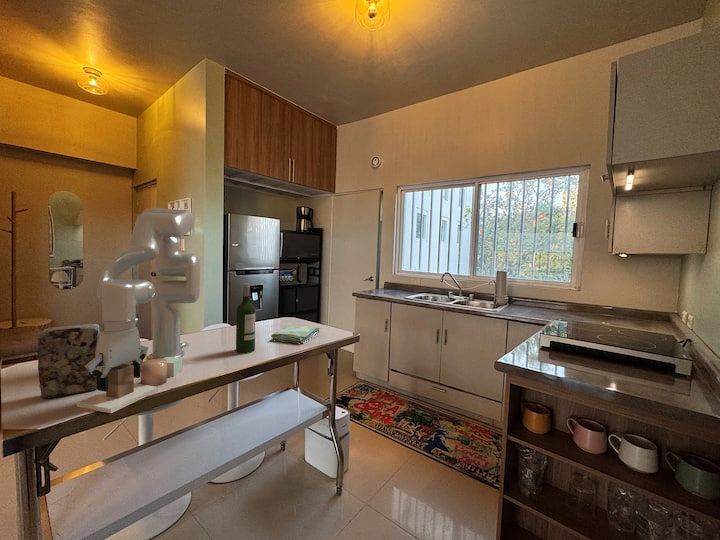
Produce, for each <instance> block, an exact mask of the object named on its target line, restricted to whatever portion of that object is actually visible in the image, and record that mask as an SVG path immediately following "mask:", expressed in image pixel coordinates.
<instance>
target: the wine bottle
mask: <svg viewBox="0 0 720 540" xmlns="http://www.w3.org/2000/svg"><path fill="white" fill-rule="evenodd" d="M250 286H251V285H250V283H243V285H242V287H243V288H242V301H241V303H240V304H239V305H237V307H236V309H235V310H236V316H235V317H236V320H235V321H236V322H235V324H236V325H235V327H236V328H235V330H236V331H235V352H236V353H238V354H242V353H245V354H250V353H253V352H255V350H256V307H255V305H254V304H253V302H252V303H251V298H250V297H251V296H250V293H251V291H250V288H251V287H250Z"/></svg>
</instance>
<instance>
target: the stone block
mask: <svg viewBox="0 0 720 540" xmlns="http://www.w3.org/2000/svg"><path fill="white" fill-rule="evenodd" d="M100 328H101V327H100V325H99V324H98V323H88V324H76V325H67V326H66V325H64V326H56V327H54V326H53V327H49V328H46V329H43V330H41V331H40V332H39V333H38V336H37V357H38V359H37V361H38V362H37V368H38V369H37V370H38V381H39V389H40V390H39V391H40V394H41V395H40V397H41V398H42V399H53V398H57V397H62V396H69V395H75V394H79V393H85V392H89V391H94V390H97V380H96V377H94V376H93V375H91V374H90V373H89V371H88V370H87V369H86V368H85V366H86V365H87V364H88V363H89V362H90V361H92V360H93V359H94V358H95V352H96V344H97V339H98V335H99V333H100V332H101V329H100ZM95 368H96V369H98V367H97V366H95Z"/></svg>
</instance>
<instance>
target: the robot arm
mask: <svg viewBox="0 0 720 540" xmlns="http://www.w3.org/2000/svg"><path fill="white" fill-rule="evenodd" d="M194 225H195V217H194V214H193V212H191V211H190V210H187V209H176V208H164V207H163V208H162V207H151V208H145V209H144V210H143V211H142V213H141V214H139V215H138V216H137V218H136V221H135V225H134V228H133V230H132V234H131V237H130V240H129V243H128V247H127V248H126V250H124V251H122V252H121V253H119V254H118V255H116V256H115V257H113V259H111V260H110V261H109V262H108V263H107V264H105V267H104V268H103V270H102V272H101V275H100V278H99V280H98V284H97V289H96V296H97V298H98V300H99V301H100V302H101V303H102V304H101V305H102V312H101V313H102V315H101V316H102V331H100V333H99V335H98V339H97V344H96V352H95V358H94V359H93V360H92V361H90V362H89V363H88V364H87V365H86V366H85V368H86V369H87V370H88V371H89V373H90V374H91V375H93V376H94V377H96V380H97V389H96V390H97V391H98V392H99V391H100V392H104V391H108V377H106V375H107V373H108V372H109V370H110V369H111V368H113V367H116V366H119V365H122V364H125V363H128V362H132V363H133V364H131V365H134V379H141V364H142V363H143V359H144V358H145V357H146V354H147V353H148V351H149V347H148V346H144V345H142V344H141V339H140V333H139V329H138V327H137V325H136V324H137V323H138V322H139V318H138V317H137V316H136V313H137V310H136V309H137V306H136V305H140V304H141V305H143V304H147V303H149V302H150V303H151V310H152V318H151V319H152V322H151V323H152V325H151V326H152V330H151V331H152V353H150V354H148V355H147V360H151V359H163V358H165V357H184V355H185V351H184V350H183V348H186V347H188V346H189V345H190V343H189V341H185V342H183V343H182V342H181V312H180V310H179V308H178V307H177V306H176V304H192V303H193V304H194V303H196V302H198V300H199V298H200V295H201V294H200V291H201V290H200V289H201V265H200V259H199V257H198V256H197V255H195V254H193V253H181V251H180V247H181V246H180V244H181V243H180V240H179V238H183V236H185V235H187V234H188V233H190V232H191V231H192V229H193V228H194V227H195V226H194ZM152 261H154V271H155V274H156V275H158V276H161V277H171V278H172V277H179V278H185V279H160V280H156V281H154V282H151V281H149V280H146V279H119V278H120V277H121V275H122V274H123V273H125V272H126V271H128V270H129V269H132V268H134V267H137V266H139V265H142V264H145V263H149V262H152ZM95 366H97V367H98V369H96V368H95Z"/></svg>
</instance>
